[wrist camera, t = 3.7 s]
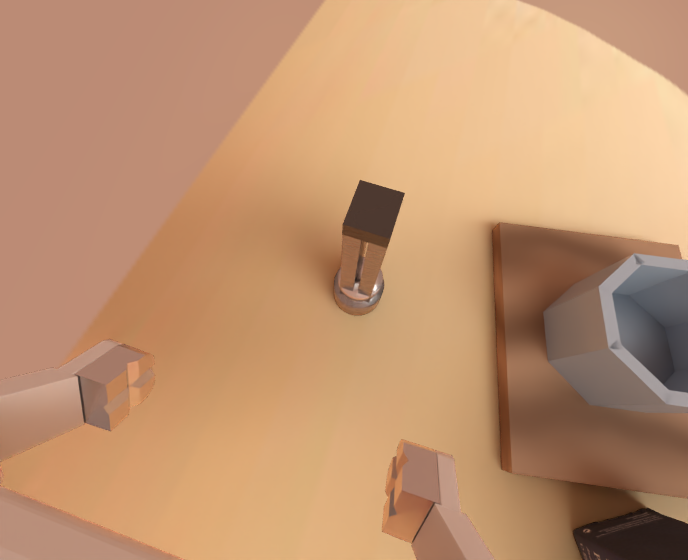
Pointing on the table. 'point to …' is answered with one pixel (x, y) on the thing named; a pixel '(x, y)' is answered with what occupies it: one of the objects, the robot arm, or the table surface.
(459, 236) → the table surface
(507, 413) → the serving board
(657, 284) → the utensil crock
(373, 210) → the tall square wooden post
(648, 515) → the small box
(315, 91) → the table surface
